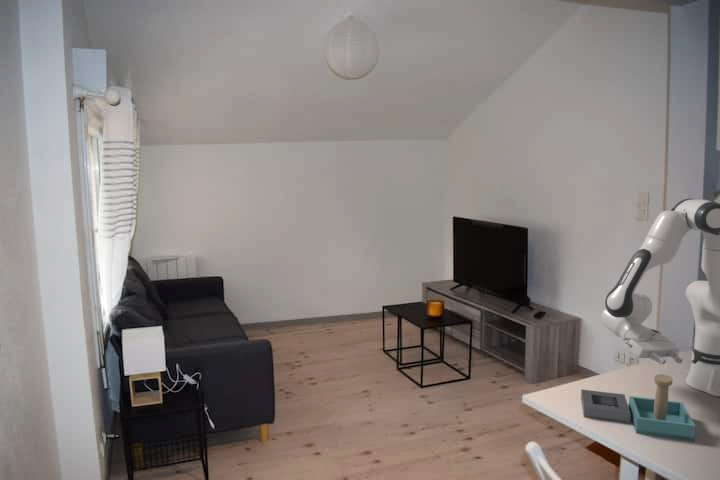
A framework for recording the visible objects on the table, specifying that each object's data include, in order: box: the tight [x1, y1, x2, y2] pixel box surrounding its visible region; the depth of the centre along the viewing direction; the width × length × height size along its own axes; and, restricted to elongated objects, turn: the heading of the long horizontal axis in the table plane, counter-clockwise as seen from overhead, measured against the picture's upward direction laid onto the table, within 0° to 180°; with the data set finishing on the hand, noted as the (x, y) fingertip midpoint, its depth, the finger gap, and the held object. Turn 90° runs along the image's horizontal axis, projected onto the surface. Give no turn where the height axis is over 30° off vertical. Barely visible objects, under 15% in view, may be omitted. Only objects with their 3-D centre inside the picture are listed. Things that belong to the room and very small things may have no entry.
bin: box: [628, 395, 696, 442], centre depth 174 cm, size 16×16×5 cm
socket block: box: [580, 388, 631, 424], centre depth 184 cm, size 14×14×4 cm
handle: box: [653, 373, 673, 421], centre depth 173 cm, size 5×6×15 cm
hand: (672, 362), depth 183 cm, fingers open, 8 cm apart
